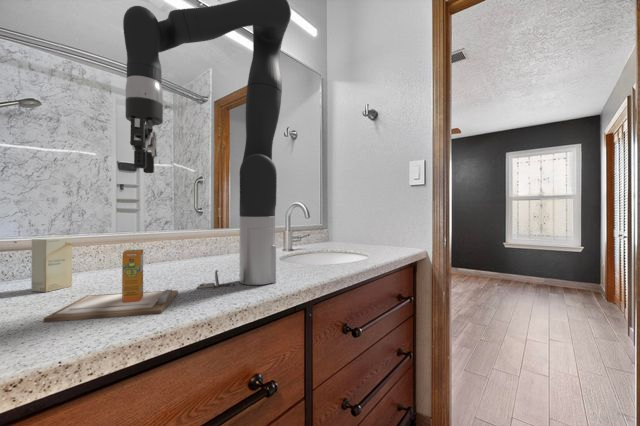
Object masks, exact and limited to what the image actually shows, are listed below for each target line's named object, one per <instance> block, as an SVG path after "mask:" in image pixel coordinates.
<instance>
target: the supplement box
mask: <svg viewBox="0 0 640 426" xmlns="http://www.w3.org/2000/svg"><path fill="white" fill-rule="evenodd" d="M121 259H122V264H121V265H122V266H121V267H122V270H121V271H122V274H121V277H122V280H121V285H122V286H121V289H122V290H121V293H122V302H123V303H124V302H135V301H140V300H141V299H142V297H143V292H144V249H125V250H124V251H123V252H122V258H121Z"/></svg>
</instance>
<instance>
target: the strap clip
mask: <svg viewBox="0 0 640 426" xmlns="http://www.w3.org/2000/svg"><path fill="white" fill-rule="evenodd" d="M218 272H219V270H217V269H216V270H215V271H214V280H215V283H214V282H203V283H199V284H198V285H197V290H207V289H210V290H211V289H215V287H216V288H218V289H221V288H233V287H235V283H233V282H232V283H231V282H230V283H229V282H228V283H220V282H219V275H218Z"/></svg>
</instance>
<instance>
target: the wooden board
mask: <svg viewBox="0 0 640 426" xmlns="http://www.w3.org/2000/svg"><path fill="white" fill-rule="evenodd" d="M178 294H179V289H178V290H177V289H176V290H173V289H165V290H158V291H143V297H142V299H141V300H140V301H135V302H124V303H123V302H122V292H121V293H108V294H107V293H106V294H104V293H103V294H102V293H101V294H91V295H90V294H88V295H85V296H83V297H81V298H79V299H78V300H76V301H74V302H71V303H70V304H68V305H66V306H64V307H62V308H61V309H59V310H57V311H54V312H53V313H51V314H49V315H47V316H45V317H43V323H46V322H61V321H73V320H74V321H76V320H87V319H100V318H101V319H102V318H113V317H116V318H117V317H127V316H142V315H155V314H156V315H157V314H162V313H163V312H164V311H165V309H166V308H167V307H169V304H171V302H172V301H173V300H174V299H175V298H176V296H177V295H178Z"/></svg>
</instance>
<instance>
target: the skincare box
mask: <svg viewBox="0 0 640 426" xmlns="http://www.w3.org/2000/svg"><path fill="white" fill-rule="evenodd" d="M72 286H73V237H50V238H49V237H47V238H46V237H45V238H31V292H39V293H47V292H50V291H51V292H52V291H57V290H61V289H65V288H69V287H72Z"/></svg>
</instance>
